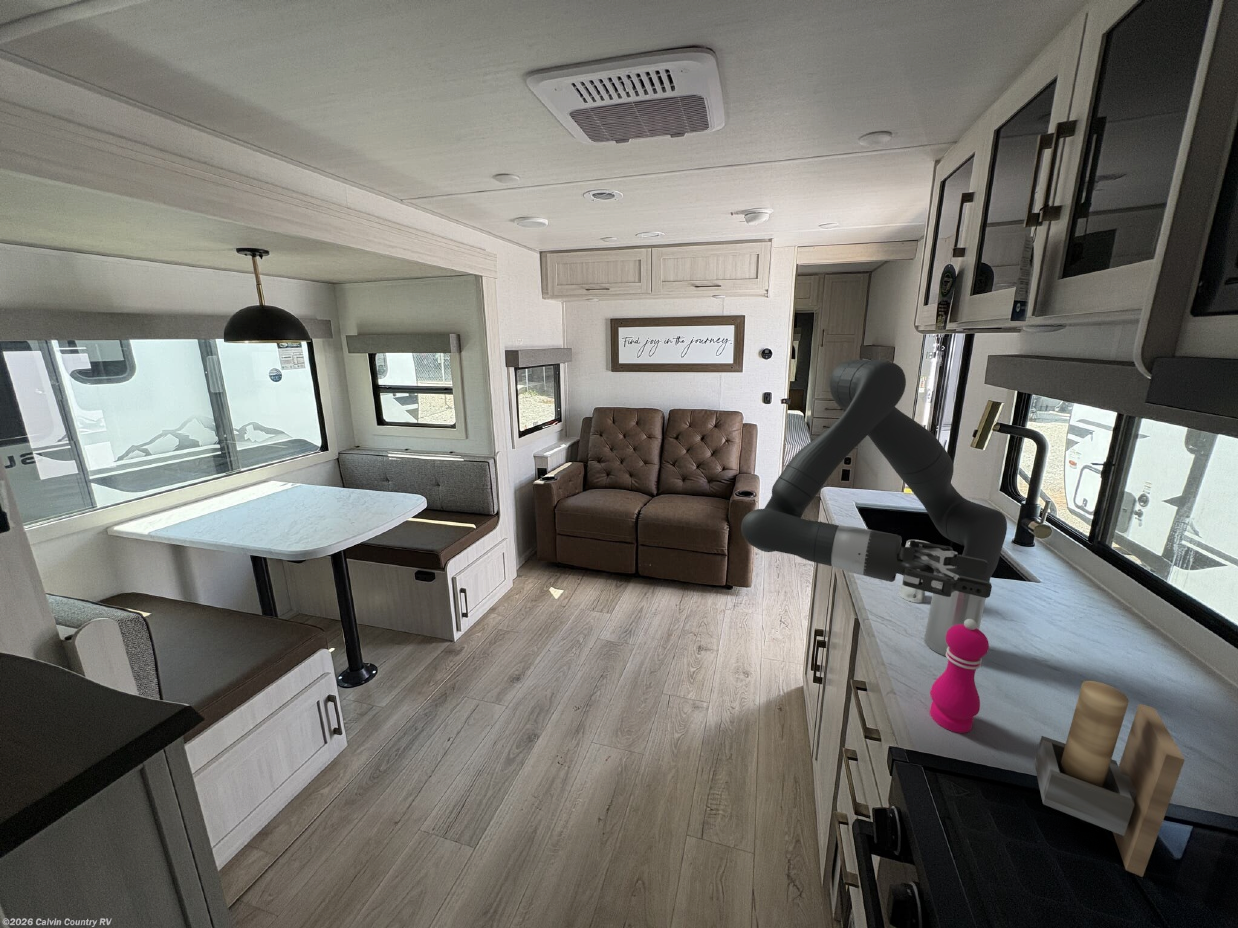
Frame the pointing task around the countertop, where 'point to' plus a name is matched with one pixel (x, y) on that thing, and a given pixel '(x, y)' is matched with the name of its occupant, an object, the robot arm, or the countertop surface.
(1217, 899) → the countertop surface
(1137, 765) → the cup bracket
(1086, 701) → the oak post
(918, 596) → the beer glass
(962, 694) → the pepper mill
